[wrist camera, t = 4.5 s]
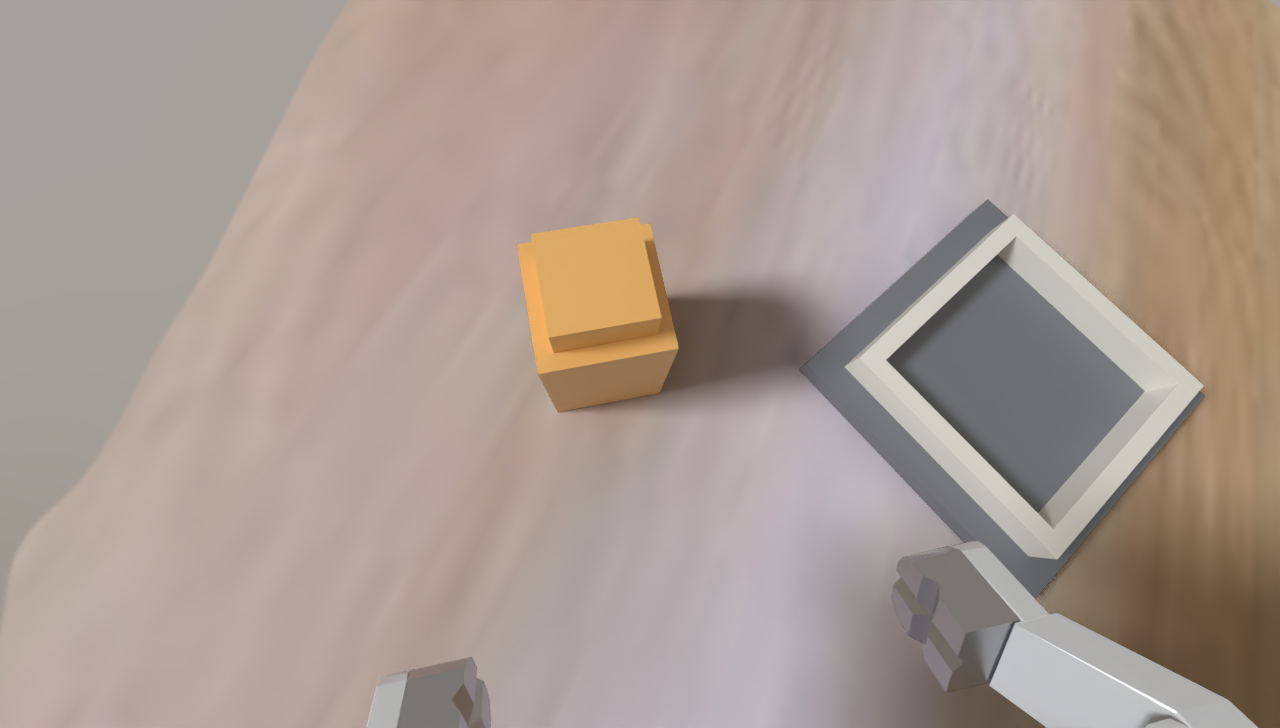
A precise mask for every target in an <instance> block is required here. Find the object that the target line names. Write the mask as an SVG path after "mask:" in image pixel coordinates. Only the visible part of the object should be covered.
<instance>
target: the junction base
mask: <svg viewBox="0 0 1280 728" xmlns="http://www.w3.org/2000/svg"><path fill="white" fill-rule="evenodd" d="M799 370H800V371H801V372H802V373H803V374H804V375H805V376H806V377H807V378H808V379H809V380H810V382H811V383H812V384H813V385H814V386H815V387H816V388H817V389H818V390H819V391H820V392H821V393H822V394H823V395H824V396H825V397H826V398H827V399H828V400H829V401H830V402H831V404H832V405H833V406H834V407H835V408H836V409H837V410H838V411H839V412H840V413H841V414H842V415H843V416H844V417H845V418H846V419H847V420H848V421H849V422H850V423H851V425H852V426H853V427H854V428H855V429H856V430H857V431H858V432H859V433H860V434H861V435H862V436H863V437H864V438H865V439H866V440H867V441H868V442H869V443H870V444H871V445H872V447H873V448H874V449H875V450H876V451H877V452H878V453H879V454H880V455H881V456H882V457H883V458H884V459H885V460H886V461H887V462H888V463H889V464H890V465H891V466H892V468H893V469H894V470H895V471H896V472H897V473H898V474H899V475H900V476H901V477H902V478H903V479H904V480H905V481H906V482H907V483H908V484H909V485H910V486H911V487H912V489H913V490H914V491H915V492H916V493H917V494H918V495H919V496H920V497H921V498H922V499H923V500H924V501H925V502H926V503H927V504H928V505H929V506H930V507H931V508H932V509H933V511H934V512H935V513H936V514H937V515H938V516H939V517H940V518H941V519H942V520H943V521H944V522H945V523H946V524H947V525H948V526H949V527H950V528H951V529H952V530H953V532H954V533H955V534H956V535H957V536H958V537H959V538H960V539H961V540H962V541H963V542H964V543H966V542H970V541H979V542H980V543H982V544H984V545H985V546H986V547H987V548H988V549H989V550H990V551H991V552H992V553H993V554H994V555H995V556H996V557H997V559H998V560H999V561H1000V562H1001V563H1002V564H1003V565H1004V566H1005V567H1006V568H1007V569H1008V570H1009V571H1010V572H1011V574H1012V575H1013V576H1014V577H1015V578H1016V579H1017V580H1018V581H1019V582H1020V583H1021V584H1022V585H1023V586H1024V587H1025V589H1026V590H1027V591H1028V592H1029V593H1030V594H1031V595H1032V596H1033V597H1034V598H1036V597H1037V596H1038V595H1039V594H1040V592H1041V591H1042V590H1043V589H1044V588H1045V586H1046V585H1047V584H1048V583H1049V582H1050V580H1051V579H1052V578H1053V577H1054V576H1055V575H1056V573H1057V572H1058V571H1059V570H1060V569H1061V567H1062V566H1063V565H1064V564H1065V563H1066V561H1067V560H1068V559H1069V558H1070V557H1071V555H1072V554H1073V553H1074V552H1075V551H1076V549H1077V548H1078V547H1079V546H1080V545H1081V543H1082V542H1083V541H1084V540H1085V539H1086V537H1087V536H1088V535H1089V534H1090V533H1091V531H1092V530H1093V529H1094V528H1095V527H1096V526H1097V524H1098V523H1099V522H1100V521H1101V520H1102V518H1103V517H1104V516H1105V515H1106V514H1107V512H1108V511H1109V510H1110V509H1111V508H1112V506H1113V505H1114V504H1115V503H1116V502H1117V500H1118V499H1119V498H1120V497H1121V496H1122V494H1123V493H1124V492H1125V491H1126V490H1127V488H1128V487H1129V486H1130V485H1131V484H1132V483H1133V481H1134V480H1135V479H1136V478H1137V477H1138V475H1139V474H1140V473H1141V472H1142V471H1143V469H1144V468H1145V467H1146V466H1147V465H1148V463H1149V462H1150V461H1151V460H1152V459H1153V457H1154V456H1155V455H1156V454H1157V453H1158V451H1159V450H1160V449H1161V448H1162V447H1163V445H1164V444H1165V443H1166V442H1167V441H1168V440H1169V438H1170V437H1171V436H1172V435H1173V434H1174V432H1175V431H1176V430H1177V429H1178V428H1179V426H1180V425H1181V424H1182V423H1183V422H1184V420H1185V419H1186V418H1187V417H1188V416H1189V414H1190V413H1191V412H1192V411H1193V410H1194V408H1195V407H1196V406H1197V405H1198V404H1199V402H1200V401H1201V400H1202V399H1203V398H1204V395H1203V394H1202V393H1201V392H1200V390H1201V389H1202V387H1203V386H1204V385H1202V384H1201V383H1200V382H1199V381H1198V380H1197V379H1196V378H1195V377H1194V376H1193V375H1191V374H1190V373H1189V372H1188V371H1187V370H1186V369H1185V368H1184V367H1183V366H1181V365H1180V364H1179V363H1178V362H1177V361H1176V360H1175V359H1174V358H1173V357H1171V356H1170V355H1169V354H1168V353H1167V352H1166V351H1165V350H1164V349H1163V348H1161V347H1160V346H1159V345H1158V344H1157V343H1156V342H1155V341H1154V340H1153V339H1151V338H1150V337H1149V336H1148V335H1147V334H1146V333H1145V332H1144V331H1143V330H1142V329H1140V328H1139V327H1138V326H1137V325H1136V324H1135V323H1134V322H1133V321H1132V320H1130V319H1129V318H1128V317H1127V316H1126V315H1125V314H1124V313H1123V312H1122V311H1120V310H1119V309H1118V308H1117V307H1116V306H1115V305H1114V304H1113V303H1112V302H1110V301H1109V300H1108V299H1107V298H1106V297H1105V296H1104V295H1103V294H1102V293H1101V292H1099V291H1098V290H1097V289H1096V288H1095V287H1094V286H1093V285H1092V284H1091V283H1089V282H1088V281H1087V280H1086V279H1085V278H1084V277H1083V276H1082V275H1081V274H1079V273H1078V272H1077V271H1076V270H1075V269H1074V268H1073V267H1072V266H1071V265H1069V264H1068V263H1067V262H1066V261H1065V260H1064V259H1063V258H1062V257H1061V256H1059V255H1058V254H1057V253H1056V252H1055V251H1054V250H1053V249H1052V248H1051V247H1050V246H1048V245H1047V244H1046V243H1045V242H1044V241H1043V240H1042V239H1041V238H1040V237H1038V236H1037V235H1036V234H1035V233H1034V232H1033V231H1032V230H1031V229H1030V228H1028V227H1027V226H1026V225H1025V224H1024V223H1023V222H1022V221H1021V220H1020V219H1018V218H1017V217H1016V216H1015V215H1014V214H1013V215H1011V216H1010V217H1009V218H1008V217H1007V216H1006V215H1005V214H1003V213H1002V212H1001V211H1000V210H999V209H998V208H997V207H996V206H995V205H993V204H992V203H991V202H990V201H989V200H986V201H985V202H984V203H983V204H982V205H980V206H979V207H978V208H977V209H975V210H974V211H973V212H972V213H971V214H970V215H969V216H968V217H967V218H965V219H964V220H963V221H962V222H961V223H960V224H959V225H958V226H957V227H956V228H954V229H953V230H952V231H951V232H950V233H949V234H948V235H947V236H946V237H945V238H943V239H942V240H941V241H940V242H939V243H938V244H937V245H936V246H935V247H934V248H932V249H931V250H930V251H929V252H928V253H927V254H926V255H925V256H924V257H923V258H921V259H920V260H919V261H918V262H917V263H916V264H915V265H914V266H913V267H912V268H910V269H909V270H908V271H907V272H906V273H905V274H904V275H903V276H902V277H900V278H899V279H898V280H897V281H896V282H895V283H894V284H893V285H892V286H891V287H889V288H888V289H887V290H886V291H885V292H884V293H883V294H882V295H881V296H880V297H878V298H877V299H876V300H875V301H874V302H873V303H872V304H871V305H870V306H869V307H867V308H866V309H865V310H864V311H863V312H862V313H861V314H860V315H859V316H858V317H856V318H855V319H854V320H853V321H852V322H851V323H850V324H849V325H848V326H846V327H845V328H844V329H843V330H842V331H841V332H840V333H839V334H838V335H837V336H835V337H834V338H833V339H832V340H831V341H830V342H829V343H828V344H827V345H826V346H824V347H823V348H822V349H821V350H820V351H819V352H818V353H817V354H816V355H815V356H813V357H812V358H811V359H810V360H809V361H808V362H807V363H806V364H805V365H804V366H802V367H801V368H800V369H799Z"/></svg>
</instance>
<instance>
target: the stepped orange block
mask: <svg viewBox="0 0 1280 728" xmlns="http://www.w3.org/2000/svg"><path fill="white" fill-rule="evenodd" d="M531 238H532V242H528V243H522V244H517V248H518V254H519V260H520V267H521V273H522V279H523V285H524V291H525V297H526V303H527V310H528V316H529V322H530V328H531V334H532V340H533V346H534V353H535V359H536V365H537V371H538V375H539V377H540V379H541V381H542V383H543V385H544V387H545V389H546V391H547V392H548V394H549V396H550V398H551V400H552V402H553V404H554V406H555V408H556V410H557V412H563V411H568V410H573V409H578V408H584V407H589V406H594V405H599V404H605V403H610V402H615V401H620V400H626V399H631V398H636V397H641V396H647V395H652V394H657V393H660V391H661V389H662V386H663V384H664V382H665V379H666V377H667V375H668V372H669V370H670V368H671V366H672V363H673V361H674V359H675V356H676V354H677V352H678V349H679V347H678V342H677V338H676V334H675V329H674V325H673V321H672V317H671V312H670V308H669V304H668V299H667V295H666V291H665V286H664V282H663V278H662V273H661V269H660V265H659V260H658V256H657V252H656V247H655V243H654V239H653V235H652V230H651V226H650V223H649V224H643V225H641V224H640V220H639V217H638V218H631V219H625V220H619V221H612V222H606V223H599V224H593V225H586V226H580V227H574V228H567V229H561V230H554V231H548V232H541V233H535V234H531Z"/></svg>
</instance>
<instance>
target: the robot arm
mask: <svg viewBox="0 0 1280 728" xmlns="http://www.w3.org/2000/svg"><path fill="white" fill-rule="evenodd" d="M897 572H898V573H899V574H900V576H901V578H900V579H899V580H898V581H897V582H896V583H895V584H894V585H893V590H892V601H893V605H894V610H895V613H896V615H897V617H898V619H899V621H900V623H901V625H902V626H903V628H904V630H905V631H906V633H907V634H908V635H909V636H910V637H912V638H914V639H915V640H917V641H918V642H920V643H922V644H923V659H924V661H925V662H926V664H927V665H928V667H929V668H930V670H931V671H932V673H933V674H934V676H935V677H936V679H937V680H938V682H939V683H940V685H941V686H942V688H943V689H944V691H945V693H946V692H951V691H955V690H960V689H964V688H969V687H973V686H977V685H982V684H986V683H990V685H989V686H991V687H992V688H993V689H995V690H996V691H997V692H999V693H1000V694H1002V695H1003V696H1004V697H1006V698H1007V699H1008V700H1010V701H1011V702H1012V703H1014V704H1015V705H1016V706H1018V707H1019V708H1021V709H1022V710H1023V711H1025V712H1026V713H1027V714H1029V715H1030V716H1031V717H1033V718H1034V719H1035V720H1037V721H1038V722H1040V723H1041V724H1042V725H1044V726H1045V727H1046V728H1258V727H1257V726H1256V725H1255V724H1254V723H1253V722H1252V721H1251V720H1249V719H1248V718H1247V717H1246V716H1245V715H1244V714H1243V713H1242V712H1241V711H1240V710H1239V709H1238V708H1237V707H1235V706H1234V705H1233V704H1232V703H1231V702H1230V701H1229V700H1227V699H1225V698H1224V697H1222V696H1220V695H1218V694H1216V693H1214V692H1212V691H1210V690H1208V689H1206V688H1204V687H1202V686H1200V685H1198V684H1196V683H1194V682H1192V681H1190V680H1188V679H1186V678H1184V677H1182V676H1180V675H1178V674H1176V673H1174V672H1172V671H1171V670H1169V669H1167V668H1165V667H1163V666H1161V665H1159V664H1157V663H1155V662H1153V661H1151V660H1149V659H1147V658H1145V657H1143V656H1141V655H1139V654H1137V653H1135V652H1133V651H1131V650H1129V649H1127V648H1125V647H1123V646H1121V645H1119V644H1118V643H1116V642H1114V641H1112V640H1110V639H1108V638H1106V637H1104V636H1102V635H1100V634H1098V633H1096V632H1094V631H1092V630H1090V629H1088V628H1086V627H1084V626H1082V625H1080V624H1078V623H1076V622H1074V621H1072V620H1070V619H1068V618H1066V617H1064V616H1063V615H1061V614H1059V613H1053V614H1049V613H1048V612H1047V611H1046V610H1045V609H1044V608H1043V607H1042V606H1041V605H1040V604H1039V602H1038V601H1037V600H1036V599H1035V598H1034V597H1033V596H1032V595H1031V594H1030V593H1029V592H1028V591H1027V590H1026V589H1025V587H1024V586H1023V585H1022V584H1021V583H1020V582H1019V581H1018V580H1017V579H1016V578H1015V577H1014V576H1013V575H1012V574H1011V572H1010V571H1009V570H1008V569H1007V568H1006V567H1005V566H1004V565H1003V564H1002V563H1001V562H1000V561H999V560H998V559H997V557H996V556H995V555H994V554H993V553H992V552H991V551H990V550H989V549H988V548H987V547H986V546H985V545H984V544H982V543H980V542H979V541H970V542H966V543H961V544H957V545H953V546H946V547H942V548H938V549H934V550H930V551H926V552H922V553H918V554H914V555H910V556H906V557H903V558H902V559H900V560H899V561H898V565H897ZM476 675H477V666H476V664H475V662H474V660H473V658H472V657H469V658H464V659H460V660H455V661H451V662H446V663H442V664H437V665H433V666H428V667H424V668H419V669H412V670H408V671H404V672H400V673H395V674H391V675H387V676H383V677H382V678H381V680H380V682H379V684H378V685H377V687H376V690H375V694H374V698H373V702H372V706H371V711H370V715H369V719H368V723H367V727H366V728H491V713H490V700H489V696H488V691H487V688H486V686H485V683H484V681H482V680H480V679H478V678H476Z"/></svg>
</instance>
